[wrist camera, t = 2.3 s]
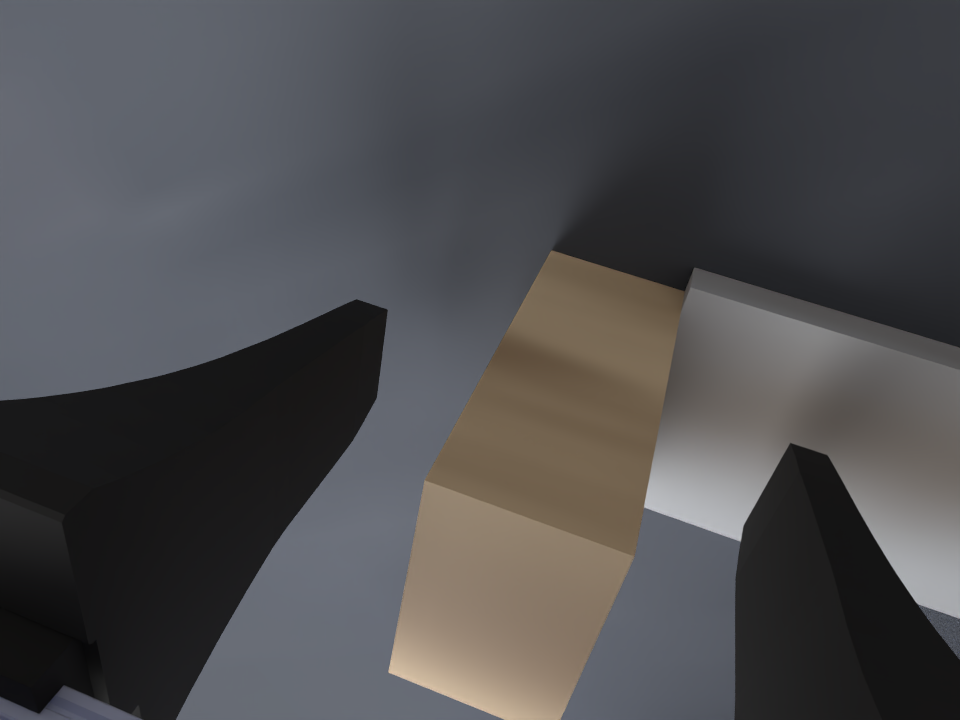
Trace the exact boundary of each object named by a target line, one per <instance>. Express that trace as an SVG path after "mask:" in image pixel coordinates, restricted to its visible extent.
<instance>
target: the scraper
mask: <svg viewBox="0 0 960 720" xmlns="http://www.w3.org/2000/svg"><path fill="white" fill-rule="evenodd" d="M790 443H792V444H796V445H799V446H802V447H805V448H808V449H811V450H814V451H817V452H820V453H823V454H826V455H828V457H829V458H830V460H831V462H832V463H833V465H834V467H835V469H836V470H837V472H838V474H839V476H840V478H841V479H842V481H843V483H844V485H845V487H846V489H847V490H848V492H849V494H850V496H851V498H852V499H853V501H854V503H855V505H856V507H857V508H858V510H859V512H860V514H861V516H862V517H863V519H864V521H865V523H866V524H867V526H868V528H869V529H870V531H871V533H872V535H873V536H874V538H875V540H876V541H877V543H878V545H879V546H880V548H881V550H882V551H883V553H884V555H885V556H886V558H887V559H888V561H889V563H890V564H891V566H892V567H893V569H894V570H895V572H896V574H897V575H898V577H899V578H900V580H901V581H902V583H903V584H904V586H905V587H906V588H907V590H908V591H909V593H910V594H911V596H912V597H913V599H914V600H915V602H916V603H917V604H919V605H922V606H925V607H928V608H931V609H933V610H936V611H939V612H942V613H945V614H948V615H950V616H953V617H956V618H959V619H960V348H959V347H956V346H953V345H949V344H946V343H943V342H939V341H936V340H933V339H930V338H926V337H923V336H920V335H916V334H913V333H910V332H906V331H903V330H900V329H897V328H893V327H890V326H887V325H883V324H880V323H877V322H873V321H870V320H867V319H864V318H860V317H857V316H854V315H850V314H847V313H844V312H840V311H837V310H834V309H831V308H827V307H824V306H821V305H817V304H814V303H811V302H807V301H804V300H801V299H797V298H794V297H791V296H788V295H784V294H781V293H778V292H774V291H771V290H768V289H764V288H761V287H758V286H755V285H751V284H748V283H745V282H741V281H738V280H735V279H731V278H728V277H725V276H722V275H718V274H715V273H712V272H708V271H705V270H702V269H698V268H695V267H694V269H693V272H692V274H691V277H690V279H689V282H688V284H687V287H686V290H685V291H682V290H678V289H675V288H672V287H669V286H665V285H662V284H659V283H656V282H653V281H649V280H646V279H643V278H640V277H636V276H633V275H630V274H627V273H623V272H620V271H617V270H614V269H610V268H607V267H604V266H601V265H597V264H594V263H591V262H588V261H584V260H581V259H578V258H575V257H571V256H568V255H565V254H562V253H558V252H555V251H552V250H551V252H550V254H549V255H548V257H547V259H546V261H545V263H544V265H543V266H542V268H541V270H540V272H539V274H538V275H537V277H536V279H535V281H534V283H533V285H532V286H531V288H530V290H529V292H528V294H527V295H526V297H525V299H524V301H523V303H522V304H521V306H520V308H519V310H518V312H517V314H516V315H515V317H514V319H513V321H512V323H511V324H510V326H509V328H508V330H507V332H506V334H505V335H504V337H503V339H502V341H501V343H500V344H499V346H498V348H497V350H496V352H495V354H494V355H493V357H492V359H491V361H490V363H489V364H488V366H487V368H486V370H485V372H484V374H483V375H482V377H481V379H480V381H479V383H478V384H477V386H476V388H475V390H474V392H473V393H472V395H471V397H470V399H469V401H468V403H467V404H466V406H465V408H464V410H463V412H462V413H461V415H460V417H459V419H458V421H457V423H456V424H455V426H454V428H453V430H452V432H451V433H450V435H449V437H448V439H447V441H446V443H445V444H444V446H443V448H442V450H441V452H440V453H439V455H438V457H437V459H436V461H435V462H434V464H433V466H432V468H431V470H430V472H429V473H428V475H427V477H426V479H425V481H424V487H423V492H422V497H421V503H420V508H419V513H418V518H417V524H416V529H415V534H414V540H413V545H412V550H411V556H410V561H409V566H408V572H407V577H406V582H405V588H404V593H403V598H402V603H401V609H400V614H399V619H398V625H397V630H396V635H395V641H394V646H393V651H392V657H391V662H390V667H389V673H391V674H394V675H396V676H399V677H401V678H404V679H406V680H409V681H411V682H414V683H416V684H418V685H421V686H423V687H426V688H428V689H431V690H433V691H436V692H438V693H441V694H443V695H446V696H448V697H451V698H453V699H455V700H458V701H460V702H463V703H465V704H468V705H470V706H473V707H475V708H478V709H480V710H483V711H485V712H487V713H490V714H492V715H495V716H497V717H500V718H502V719H505V720H560V719H561V717H562V715H563V712H564V710H565V708H566V706H567V704H568V702H569V699H570V697H571V695H572V693H573V691H574V688H575V686H576V684H577V682H578V680H579V677H580V675H581V673H582V671H583V669H584V666H585V664H586V662H587V660H588V658H589V655H590V653H591V651H592V649H593V647H594V644H595V642H596V640H597V638H598V636H599V633H600V631H601V629H602V627H603V625H604V622H605V620H606V618H607V616H608V614H609V611H610V609H611V607H612V605H613V603H614V600H615V598H616V596H617V594H618V592H619V590H620V587H621V585H622V583H623V581H624V579H625V576H626V574H627V572H628V570H629V568H630V565H631V563H632V561H633V559H634V557H635V551H636V546H637V541H638V536H639V530H640V525H641V520H642V514H643V509H644V508H647V509H650V510H653V511H656V512H659V513H661V514H664V515H667V516H670V517H673V518H676V519H678V520H681V521H684V522H687V523H690V524H693V525H695V526H698V527H701V528H704V529H707V530H710V531H712V532H715V533H718V534H721V535H724V536H727V537H729V538H732V539H735V540H738V541H741V537H742V531H743V525H744V524H745V522H746V520H747V518H748V517H749V515H750V513H751V511H752V509H753V508H754V506H755V504H756V502H757V501H758V499H759V497H760V495H761V494H762V492H763V490H764V488H765V487H766V485H767V483H768V481H769V479H770V478H771V476H772V474H773V472H774V471H775V469H776V467H777V465H778V464H779V462H780V460H781V458H782V456H783V455H784V453H785V451H786V449H787V448H788V446H789V444H790Z"/></svg>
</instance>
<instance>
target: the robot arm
mask: <svg viewBox="0 0 960 720" xmlns="http://www.w3.org/2000/svg"><path fill="white" fill-rule="evenodd" d="M387 311H388V310H387V309H384V308H381V307H378V306H375V305H372V304H369V303H366V302H363V301H360V300H357V299H356V300H354V301H352V302H349V303H347V304H345V305H342V306H340V307H338V308H336V309H334V310H332V311H329V312H327V313H325V314H323V315H321V316H319V317H317V318H315V319H312V320H310V321H308V322H306V323H304V324H301V325H299V326H297V327H295V328H293V329H290V330H288V331H286V332H284V333H281V334H279V335H277V336H275V337H272V338H270V339H268V340H265V341H262V342H260V343H257V344H255V345H252V346H250V347H247V348H244V349H242V350H239V351H237V352H234V353H232V354H229V355H226V356H224V357H221V358H218V359H215V360H212V361H209V362H206V363H203V364H200V365H197V366H194V367H190V368H187V369H183V370H180V371H176V372H173V373H169V374H166V375H162V376H158V377H153V378H149V379H144V380H139V381H135V382H130V383H125V384H121V385H116V386H111V387H107V388H101V389H96V390H89V391H83V392H77V393H70V394H62V395H55V396H47V397H38V398H29V399H18V400H3V401H0V720H176V718H177V716H178V714H179V712H180V710H181V708H182V706H183V705H184V703H185V701H186V699H187V697H188V695H189V693H190V691H191V689H192V687H193V685H194V684H195V682H196V680H197V678H198V676H199V674H200V673H201V671H202V669H203V667H204V665H205V664H206V662H207V660H208V658H209V656H210V654H211V653H212V651H213V649H214V647H215V645H216V643H217V642H218V640H219V638H220V636H221V634H222V633H223V631H224V629H225V627H226V626H227V624H228V622H229V620H230V619H231V617H232V615H233V614H234V612H235V610H236V608H237V607H238V605H239V603H240V601H241V600H242V598H243V596H244V594H245V593H246V591H247V589H248V588H249V586H250V584H251V583H252V581H253V579H254V578H255V576H256V574H257V573H258V571H259V569H260V568H261V566H262V564H263V563H264V561H265V560H266V558H267V556H268V555H269V553H270V551H271V550H272V548H273V546H274V545H275V544H276V542H277V541H278V539H279V538H280V536H281V535H282V533H283V532H284V531H285V529H286V528H287V526H288V525H289V524H290V522H291V521H292V520H293V518H294V517H295V516H296V515H297V513H298V512H299V511H300V509H301V508H302V507H303V505H304V504H305V503H306V502H307V500H308V499H309V498H310V496H311V495H312V494H313V492H314V491H315V490H316V488H317V487H318V486H319V485H320V483H321V482H322V481H323V479H324V478H325V477H326V475H327V474H328V473H329V472H330V470H331V469H332V468H333V466H334V465H335V464H336V462H337V461H338V460H339V458H340V457H341V456H342V454H343V453H344V452H345V450H346V449H347V448H348V446H349V445H350V443H351V442H352V441H353V439H354V437H355V436H356V434H357V432H358V431H359V429H360V427H361V425H362V424H363V422H364V420H365V418H366V416H367V415H368V413H369V411H370V409H371V407H372V405H373V404H374V402H375V400H376V398H377V392H378V384H379V376H380V368H381V360H382V351H383V343H384V335H385V327H386V319H387ZM735 720H960V660H959V659H958V657H957V656H956V655H955V654H954V652H953V651H952V650H951V649H950V647H949V646H948V645H947V643H946V642H945V641H944V640H943V638H942V637H941V636H940V635H939V633H938V632H937V631H936V630H935V628H934V627H933V625H932V624H931V623H930V621H929V620H928V619H927V617H926V616H925V615H924V613H923V612H922V610H921V609H920V608H919V606H918V605H917V603H916V602H915V600H914V599H913V597H912V596H911V594H910V593H909V591H908V590H907V588H906V587H905V586H904V584H903V583H902V581H901V580H900V578H899V577H898V575H897V574H896V572H895V570H894V569H893V567H892V566H891V564H890V563H889V561H888V559H887V558H886V556H885V555H884V553H883V551H882V550H881V548H880V546H879V545H878V543H877V541H876V540H875V538H874V536H873V535H872V533H871V531H870V529H869V528H868V526H867V524H866V523H865V521H864V519H863V517H862V516H861V514H860V512H859V510H858V508H857V507H856V505H855V503H854V501H853V499H852V498H851V496H850V494H849V492H848V490H847V489H846V487H845V485H844V483H843V481H842V479H841V478H840V476H839V474H838V472H837V470H836V469H835V467H834V465H833V463H832V462H831V460H830V458H829V457H828V455H826V454H823V453H820V452H817V451H814V450H811V449H808V448H805V447H802V446H799V445H796V444H792V443H790V444H789V446H788V448H787V449H786V451H785V453H784V455H783V456H782V458H781V460H780V462H779V464H778V465H777V467H776V469H775V471H774V472H773V474H772V476H771V478H770V479H769V481H768V483H767V485H766V487H765V488H764V490H763V492H762V494H761V495H760V497H759V499H758V501H757V502H756V504H755V506H754V508H753V509H752V511H751V513H750V515H749V517H748V518H747V520H746V522H745V524H744V525H743V531H742V537H741V544H740V550H739V557H738V565H737V572H736V591H735Z"/></svg>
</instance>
